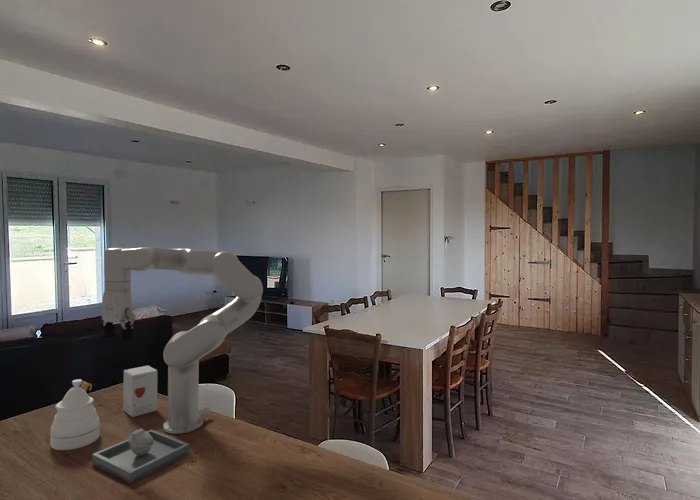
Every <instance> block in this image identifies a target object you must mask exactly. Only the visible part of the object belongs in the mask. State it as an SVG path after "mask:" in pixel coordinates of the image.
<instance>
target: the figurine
mask: <svg viewBox="0 0 700 500" xmlns="http://www.w3.org/2000/svg"><path fill="white" fill-rule="evenodd" d="M79 387H80V388H82V389H83V390H84V391H85V392H86V393H87V390H89V391H91V390H92V387H93V384H92V383H89V382H87V381H85V380H82V382H81V384H80V386H79Z"/></svg>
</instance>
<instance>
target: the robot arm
mask: <svg viewBox="0 0 700 500" xmlns="http://www.w3.org/2000/svg"><path fill="white" fill-rule="evenodd" d="M103 253H104V254H103V261H104V262H103V270H104V271H103V275H104V276H103V277H104V278H103V279H104V281H103V283H104V284H103V286H104V288H103V289H104V290H103V295H102V299H101V300H102V302H101V311H100V314H101V320H102V321H103V322H102V325H103V338H105V339H108V338H113V337H116V336H115V335H116V331H115V328H116V325H115V324H119V323H120V325H121V327H122V329H121V331H120V332H121V342H122V343H125V342H126V343H127V342H131V341H132V340H133V328H134V325H135V320H136V317H137V315H136V314H134V312H133V299H132V292H131V291H132V271H136V272H144V271H148V270H162V271H163V270H165V271H166V270H167V271H176V272H180V273H182V274H185V275H196V276H197V275H200V276H204V275H205V276H217V277H218V279H219V280H220V281H221V282H222V283H223V284H224V285H225V286H226V288H228V289H229V290H230V291H231V292H232V293H233V294H234V295H235V298H234V299H232V301H230V302H229V303H227V304H226V305H224V306H223V307H221V308H219V309H218V310H215V311H214V312H212V313H211V314H208V315H207V316H205V317H204V318H201V320H200V321H199V323H198V324H197V325H196V326H194V327H192V328H191V329H189V330H182V331H179V332H177V333H175V334H174V335H172V337H171V338H170V339H169V341H168V342H167V343H166V345H165V347H164V349H163V353H162V355H163V357H162V358H163V361H164V363H165V364H166V365H167V366H168V368H167V369H168V370H167V373H168V374H167V377H168V378H167V396H168V397H167V420H166V421H164V423H163V425H162V430H163V431H164V432H165V433H167V434H172V435H176V434H177V435H178V434H181V435H182V434H186V433H191V432H194V431H196V430H198V429H200V428H201V427H202V426H203V425H204V418H203V417H202V416H203V415H204V414H206V413H209V412H210V411H211V407H210V406H207V405H206V406H204V407H202V406H199V400H200V399H199V393H200V392H199V390H200V389H199V384H200V383H199V378H200V376H199V372H200V371H199V369H200V368H199V365H200V359H202V358H203V357H205V356H206V355H208V354H210V353H211V352H213V351H215V350H216V349H217V348H219V346H221V344H223V342H224V341H225V339H226V336H227V335H228V334H230V333H231V332H233V331H234V330H236V329H237V328H239V327H240V326H241V325H243V324H244V323H246V322H247V321H249V319H252V317H253V316H254V315H255V313H256V312H257V310H258V309H259V306H260V304H261V302H262V298H263V297H262V296H263V293H264V287H263V284H262V281H261V279H260V278H259V277H258V276H256V275H254V274H253V273H252V272H251V271H250V270H249V269H248V268H247V267H246V266H245V265H244V264H243V263H242V262H241V261H240V260H239V259H238V256H237V255H236V254H235V253H234V252H231V251H228V250H215V249H214V250H213V249H202V248H201V249H200V248H199V249H198V248H197V249H196V248H169V247H168V248H166V247H152V246H145V247H144V246H143V247H137V248H136V247H135V248H126V247H110V248H106V249H105V250H104V252H103Z"/></svg>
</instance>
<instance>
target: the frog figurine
mask: <svg viewBox="0 0 700 500" xmlns="http://www.w3.org/2000/svg"><path fill="white" fill-rule="evenodd" d="M127 440H128V443H129V445H130V448H131V449H132V452H133V453H134V454H135V455H137V456H143V455H145V454H147V453H148V452H149V451H150V449H151V446H152V445H153V437H152V436H151V435H150V434H149V433H148V432H147V430H146V431H145V430H144V429H143V428H138V429H136V430H134V431H133V432H131V433H130V434H129V436H128V439H127Z"/></svg>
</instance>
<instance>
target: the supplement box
mask: <svg viewBox="0 0 700 500" xmlns="http://www.w3.org/2000/svg"><path fill="white" fill-rule="evenodd" d="M122 397H123V400H122V402H123V403H122V405H123V406H122V407H123V409H122V410H123V412H125V413H126V414H128V415H129V416H130V417H131V418H135V417H137V416H141V415H145V414H148V413H153V412H156V411H158V370H157V369H156V368H154V367H151V366H150V365H143V366H139V367H134V368H128V369H123V394H122Z"/></svg>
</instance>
